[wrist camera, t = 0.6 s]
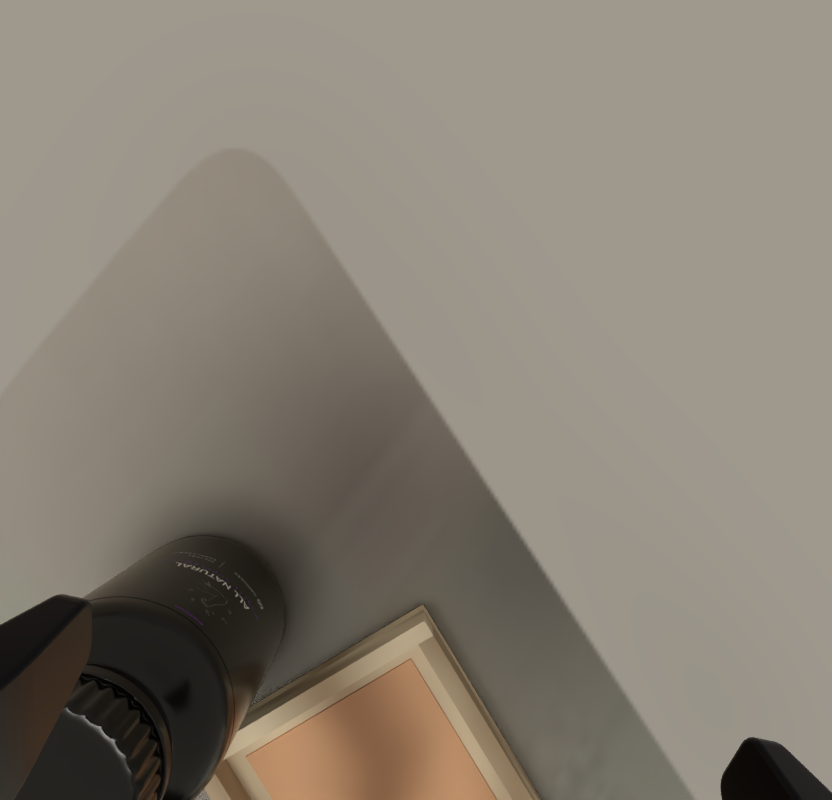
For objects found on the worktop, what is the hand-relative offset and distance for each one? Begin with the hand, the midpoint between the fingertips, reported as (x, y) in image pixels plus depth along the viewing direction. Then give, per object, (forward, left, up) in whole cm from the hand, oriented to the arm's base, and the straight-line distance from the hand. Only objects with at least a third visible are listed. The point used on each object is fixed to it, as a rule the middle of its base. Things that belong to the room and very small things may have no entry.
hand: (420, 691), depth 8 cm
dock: (-8, -11, -18) cm, 22 cm away
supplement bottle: (-10, -1, -18) cm, 21 cm away
